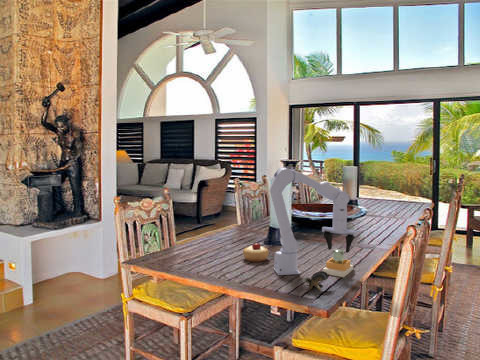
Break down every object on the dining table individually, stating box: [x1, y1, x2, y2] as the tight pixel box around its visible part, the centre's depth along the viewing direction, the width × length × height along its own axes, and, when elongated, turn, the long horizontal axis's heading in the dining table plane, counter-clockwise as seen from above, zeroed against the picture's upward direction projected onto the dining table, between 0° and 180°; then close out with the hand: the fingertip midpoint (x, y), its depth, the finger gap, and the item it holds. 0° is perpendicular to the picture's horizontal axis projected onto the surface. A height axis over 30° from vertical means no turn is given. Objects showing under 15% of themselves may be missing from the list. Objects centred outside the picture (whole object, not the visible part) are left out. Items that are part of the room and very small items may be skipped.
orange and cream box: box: [322, 257, 354, 278], centre depth 171 cm, size 12×9×4 cm
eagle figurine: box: [302, 270, 329, 292], centre depth 151 cm, size 8×7×9 cm
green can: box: [332, 248, 345, 264], centre depth 170 cm, size 4×4×7 cm
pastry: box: [242, 240, 270, 263], centre depth 188 cm, size 12×12×9 cm
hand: (338, 250), depth 170 cm, fingers open, 7 cm apart
